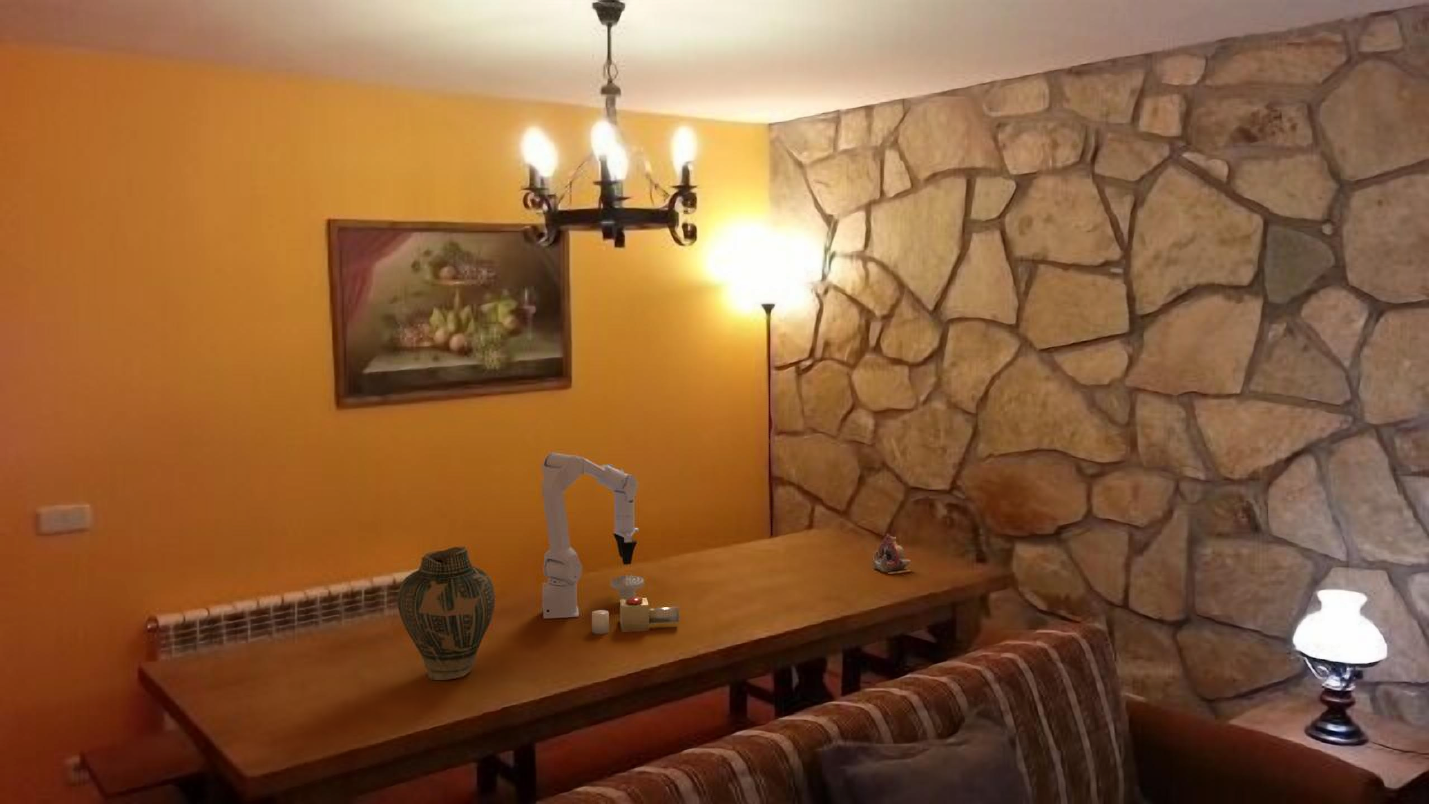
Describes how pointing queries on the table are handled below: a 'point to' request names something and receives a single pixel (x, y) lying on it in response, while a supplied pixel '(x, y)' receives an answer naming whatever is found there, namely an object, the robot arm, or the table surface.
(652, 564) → the table surface
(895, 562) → the grey pink figurine
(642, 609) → the beige red button device
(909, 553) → the table surface
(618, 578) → the showerhead
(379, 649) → the table surface
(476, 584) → the vase
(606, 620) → the pvc coupling
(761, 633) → the table surface
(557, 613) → the robot arm
